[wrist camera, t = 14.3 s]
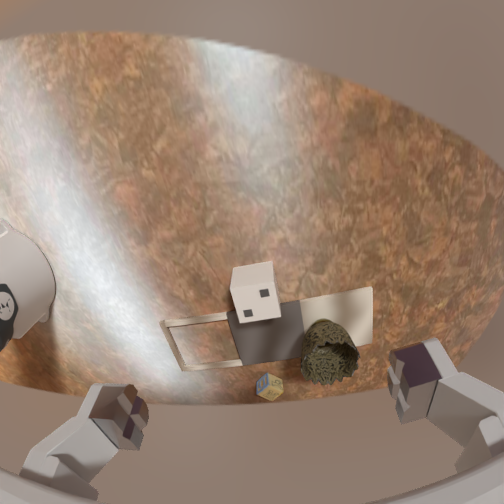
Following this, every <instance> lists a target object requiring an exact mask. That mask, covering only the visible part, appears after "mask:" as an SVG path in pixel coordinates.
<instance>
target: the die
mask: <svg viewBox="0 0 504 504" xmlns="http://www.w3.org/2000/svg"><path fill="white" fill-rule="evenodd" d="M230 291H231V294H232V298H233V301H234V305H235V308H236V312H237V315H238V318H239V322H240V323H245V322H252V321H258V320H265V319H271V318H277V317H281V308H280V297H279V290H278V285H277V280H276V275H275V271H274V266H273V261H268V262H262V263H257V264H251V265H245V266H240V267H234V268H233V272H232V278H231V284H230Z"/></svg>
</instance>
